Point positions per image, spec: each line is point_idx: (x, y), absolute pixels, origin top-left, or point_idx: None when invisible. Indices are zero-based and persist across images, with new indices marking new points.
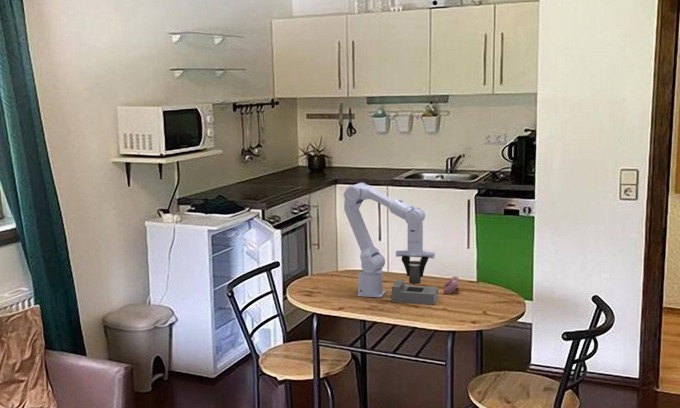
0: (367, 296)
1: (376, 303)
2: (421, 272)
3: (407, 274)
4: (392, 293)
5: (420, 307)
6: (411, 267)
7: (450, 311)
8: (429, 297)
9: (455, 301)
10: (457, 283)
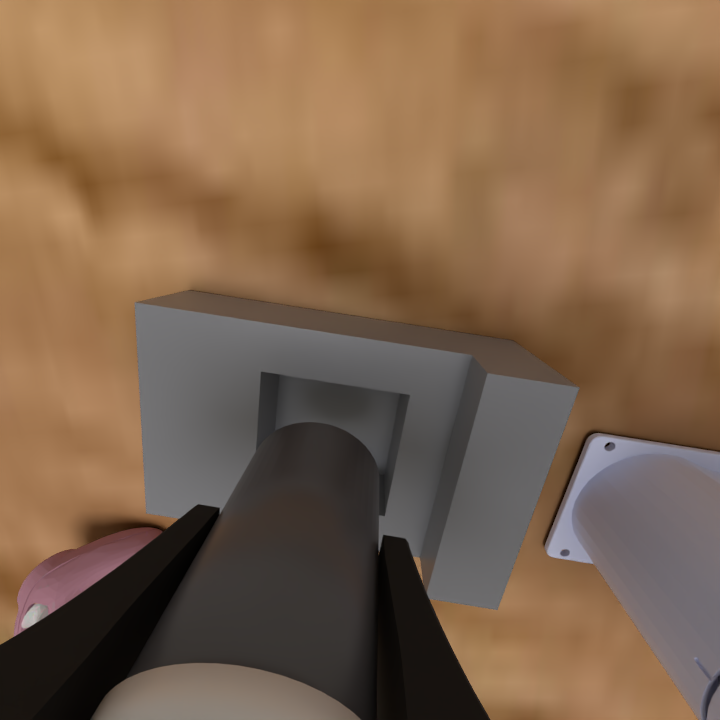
0: (695, 449)
1: (643, 295)
2: (162, 547)
3: (403, 551)
4: (535, 360)
5: (283, 214)
6: (319, 648)
7: (33, 122)
8: (195, 303)
9: (61, 384)
10: (22, 590)
